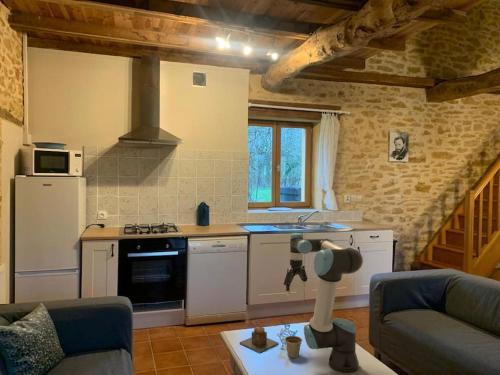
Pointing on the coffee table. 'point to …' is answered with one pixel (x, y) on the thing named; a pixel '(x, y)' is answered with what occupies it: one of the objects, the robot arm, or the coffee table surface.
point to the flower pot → (293, 345)
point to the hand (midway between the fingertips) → (295, 294)
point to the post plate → (258, 348)
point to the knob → (259, 336)
